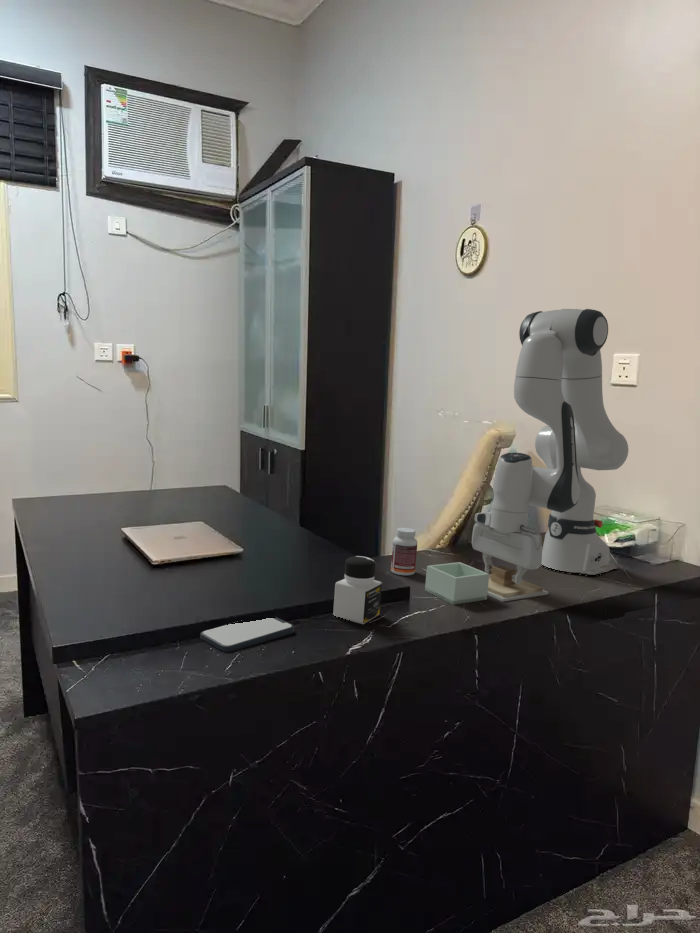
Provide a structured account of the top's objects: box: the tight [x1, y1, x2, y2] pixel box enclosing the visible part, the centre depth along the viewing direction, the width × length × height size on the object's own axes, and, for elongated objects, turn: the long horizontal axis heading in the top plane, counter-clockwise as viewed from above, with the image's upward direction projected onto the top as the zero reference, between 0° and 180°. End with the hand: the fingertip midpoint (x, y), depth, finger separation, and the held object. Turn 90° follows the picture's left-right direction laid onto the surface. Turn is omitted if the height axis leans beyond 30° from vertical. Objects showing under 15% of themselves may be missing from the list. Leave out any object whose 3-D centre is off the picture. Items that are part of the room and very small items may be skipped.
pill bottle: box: [390, 527, 418, 576], centre depth 170 cm, size 6×6×11 cm
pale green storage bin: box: [424, 561, 490, 606], centre depth 155 cm, size 10×10×6 cm
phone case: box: [199, 616, 295, 653], centre depth 124 cm, size 9×2×16 cm
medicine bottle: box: [332, 555, 383, 625], centre depth 137 cm, size 7×7×12 cm
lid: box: [488, 565, 544, 597], centre depth 163 cm, size 13×13×4 cm
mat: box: [487, 589, 549, 603], centre depth 163 cm, size 15×15×1 cm
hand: (502, 577), depth 163 cm, fingers open, 8 cm apart
